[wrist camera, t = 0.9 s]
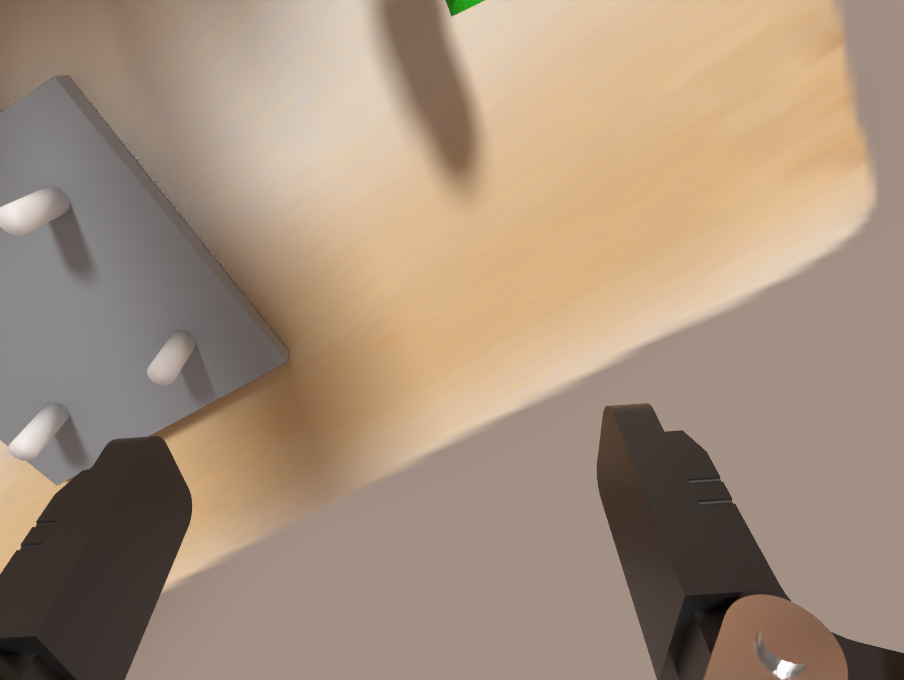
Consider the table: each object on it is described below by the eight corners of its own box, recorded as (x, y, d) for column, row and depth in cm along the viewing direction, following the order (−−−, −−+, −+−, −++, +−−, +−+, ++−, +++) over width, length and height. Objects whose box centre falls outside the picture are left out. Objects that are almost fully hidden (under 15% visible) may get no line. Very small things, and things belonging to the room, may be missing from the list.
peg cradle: (-197, 252, 33) (-297, 288, 28) (68, 75, 30) (8, 82, 26) (67, 471, 42) (26, 527, 38) (289, 351, 40) (276, 395, 35)
